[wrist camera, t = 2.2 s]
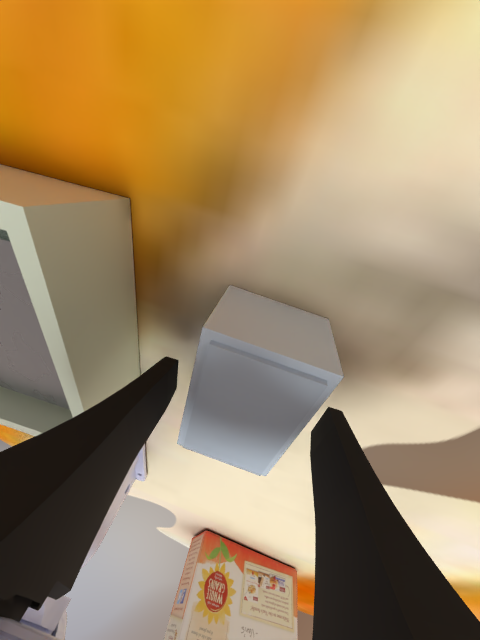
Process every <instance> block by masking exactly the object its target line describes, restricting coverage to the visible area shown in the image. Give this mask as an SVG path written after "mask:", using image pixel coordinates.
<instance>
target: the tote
mask: <svg viewBox="0 0 480 640" xmlns="http://www.w3.org/2000/svg"><path fill="white" fill-rule="evenodd" d="M0 229H2V230H5V231H7V233H8V236H9V239H10V242H11V245H12V248H13V250H14V253H15V256H16V259H17V262H18V264H19V267H20V270H21V273H22V276H23V279H24V281H25V284H26V287H27V290H28V293H29V295H30V298H31V301H32V304H33V307H34V310H35V312H36V315H37V318H38V321H39V324H40V326H41V329H42V332H43V335H44V338H45V340H46V343H47V346H48V349H49V352H50V355H51V357H52V360H53V363H54V366H55V369H56V371H57V374H58V377H59V380H60V383H61V386H62V388H63V391H64V394H65V397H66V400H67V402H68V405H69V408H70V410H69V409H66V408H63V407H60V406H57V405H54V404H51V403H48V402H45V401H42V400H40V399H37V398H34V397H31V396H28V395H25V394H22V393H19V392H16V391H13V390H10V389H7V388H4V387H1V386H0V424H1V425H4V426H7V427H10V428H13V429H16V430H19V431H22V432H24V433H27V434H30V435H33V436H37V435H39V434H42V433H44V432H46V431H48V430H50V429H52V428H54V427H56V426H58V425H60V424H62V423H63V422H65V421H67V420H69V419H71V418H73V417H75V416H77V415H79V414H80V413H82V412H84V411H86V410H88V409H89V408H91V407H93V406H95V405H96V404H98V403H100V402H101V401H103V400H104V399H106V398H108V397H109V396H111V395H112V394H114V393H115V392H117V391H119V390H120V389H122V388H123V387H125V386H126V385H128V384H129V383H130V382H132V381H133V380H135V379H136V378H138V377H139V376H140V360H139V343H138V326H137V310H136V293H135V276H134V259H133V242H132V225H131V208H130V198H126V197H123V196H119V195H115V194H111V193H108V192H104V191H100V190H96V189H92V188H89V187H85V186H81V185H77V184H74V183H70V182H66V181H62V180H58V179H55V178H51V177H47V176H43V175H40V174H36V173H32V172H28V171H24V170H21V169H17V168H13V167H9V166H6V165H2V164H0Z"/></svg>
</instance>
